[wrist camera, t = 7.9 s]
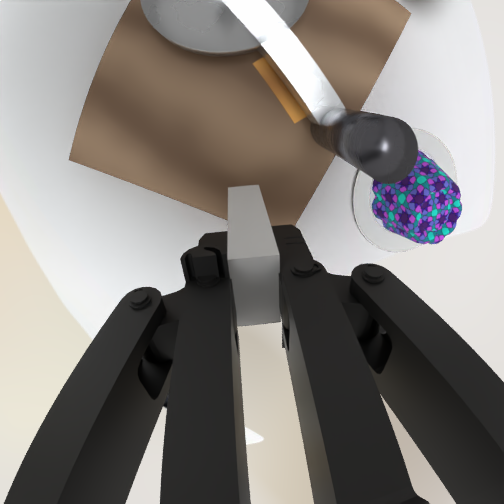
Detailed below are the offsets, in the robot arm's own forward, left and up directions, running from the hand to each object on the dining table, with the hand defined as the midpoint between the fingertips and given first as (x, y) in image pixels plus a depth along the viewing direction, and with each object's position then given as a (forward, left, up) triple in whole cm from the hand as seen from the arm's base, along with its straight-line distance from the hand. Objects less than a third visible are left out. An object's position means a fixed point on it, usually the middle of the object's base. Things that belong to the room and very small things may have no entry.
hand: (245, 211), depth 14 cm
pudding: (-5, +14, -8) cm, 17 cm away
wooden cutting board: (-8, -4, -8) cm, 12 cm away
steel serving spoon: (-10, -3, -5) cm, 12 cm away
